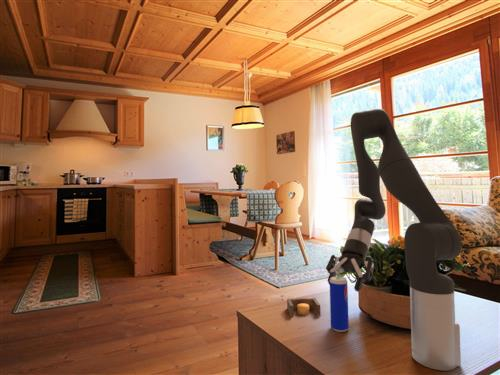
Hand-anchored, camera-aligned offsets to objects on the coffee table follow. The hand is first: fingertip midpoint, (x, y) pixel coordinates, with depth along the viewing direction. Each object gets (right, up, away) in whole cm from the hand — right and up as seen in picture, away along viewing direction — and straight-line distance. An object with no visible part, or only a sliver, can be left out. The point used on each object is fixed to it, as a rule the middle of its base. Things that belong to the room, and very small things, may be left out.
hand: (342, 287), depth 92 cm
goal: (-10, -12, +11) cm, 19 cm away
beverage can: (-2, -12, -2) cm, 12 cm away
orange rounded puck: (-10, -12, +10) cm, 19 cm away
